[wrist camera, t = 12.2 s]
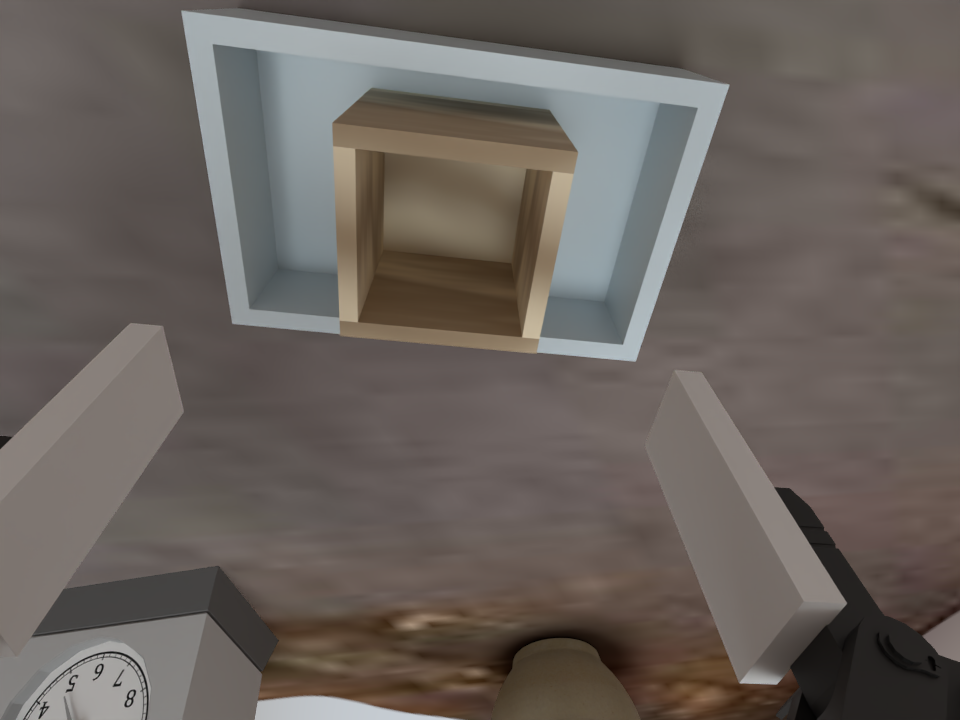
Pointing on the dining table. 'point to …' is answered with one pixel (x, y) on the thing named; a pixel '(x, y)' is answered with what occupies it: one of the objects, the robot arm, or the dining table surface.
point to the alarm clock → (142, 653)
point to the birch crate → (448, 219)
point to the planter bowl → (562, 685)
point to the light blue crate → (456, 74)
